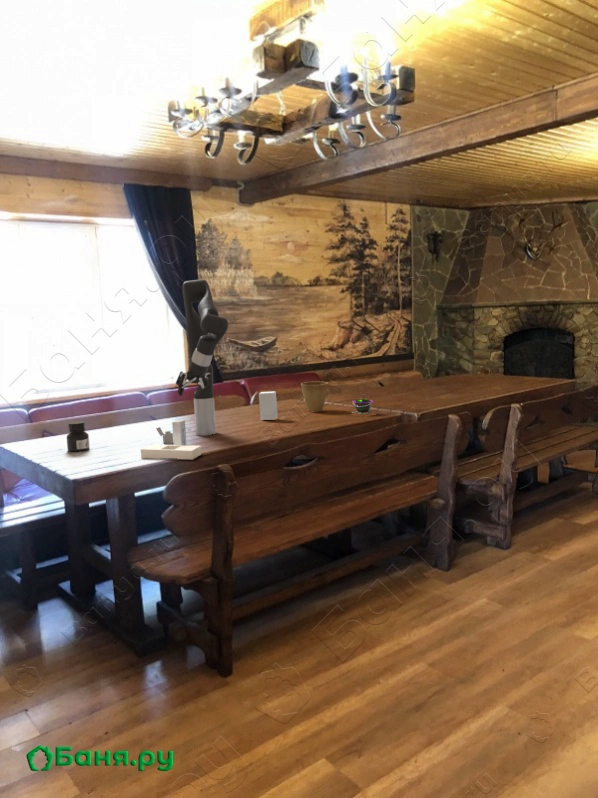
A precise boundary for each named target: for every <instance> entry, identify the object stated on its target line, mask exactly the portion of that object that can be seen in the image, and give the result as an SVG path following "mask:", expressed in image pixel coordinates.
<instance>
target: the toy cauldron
mask: <svg viewBox="0 0 598 798" xmlns="http://www.w3.org/2000/svg"><path fill="white" fill-rule="evenodd" d="M362 395H363V396H366V393H365V394H364V393H363V394H362ZM373 402H374V400H371V399H368V397H367V398H365V399H363V398H362V397H360V398H358V399H356V400H352V405H353V406H354V407H355V410H356V411H355V410H354V411H352V412H351V413H356V412H358V414H370V413H373V412H374V411H370V409H372V408H371V407H372V403H373ZM366 412H368V413H366Z"/></svg>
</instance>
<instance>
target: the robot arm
mask: <svg viewBox="0 0 598 798" xmlns="http://www.w3.org/2000/svg"><path fill="white" fill-rule="evenodd" d="M182 298H183V304H184V310H185V322H186V323H185V324H186V340H187V347H188V370H187V372H183V371H182V370H180V372H179V373H178V377H177V378H176V381H175V384H176V386H177V387H178V389H177V391H176V392H177V394H178V396H179V397H180V396H181V397H182V396H183V393H184V390H185V387H187V386H189V385H191V384H198V385H197V388H196V390H195V391H194V392H193V405H194V407H193V408H194V422H195V423H194V424H195V435H196V436H199V437H200V436H204V437H205V436H213V435H215V434H216V414H215V410H216V409H215V396H214V368H213V367H214V366H213V365H212V363H211V362H212V360H213V356H214V352H215V350H216V347H217V345H218V344H219V342H220V341H221V339H223V337H224V335H225V334H226V333H227V331H228V329H229V322H228V319H227V318H225V317H222V316H219V312H218V310H217V307H216V306H215V304H214V300H213V295H212V292H211V288H210V285H209V282H207V280H205V279H203V278H202V279H193V280H185V281H184V282H183V283H182ZM193 303H198V306H197V311H196V310H195V309H194V306H193ZM212 434H213V435H212Z"/></svg>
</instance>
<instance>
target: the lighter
mask: <svg viewBox="0 0 598 798" xmlns="http://www.w3.org/2000/svg"><path fill="white" fill-rule="evenodd" d="M155 429H156V431H157V432H158V435H159V436H161V437H162V444H163V443H168V444H172V443H171V442H173V432H172V431H170V430H168V431H167V430H165V432H163V430H162V428H161V426H159V425H158V426H156V427H155Z"/></svg>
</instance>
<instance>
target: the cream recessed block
mask: <svg viewBox="0 0 598 798" xmlns="http://www.w3.org/2000/svg"><path fill="white" fill-rule="evenodd" d="M201 455H202V446H201V445H174V444H150V445H149V444H148V445H147V446H145V447H142V448H141V449H140V458H141V459H160V458H177V459H176V460H190V461H191V460H194V459H196V458H198V457H199V456H201Z"/></svg>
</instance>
